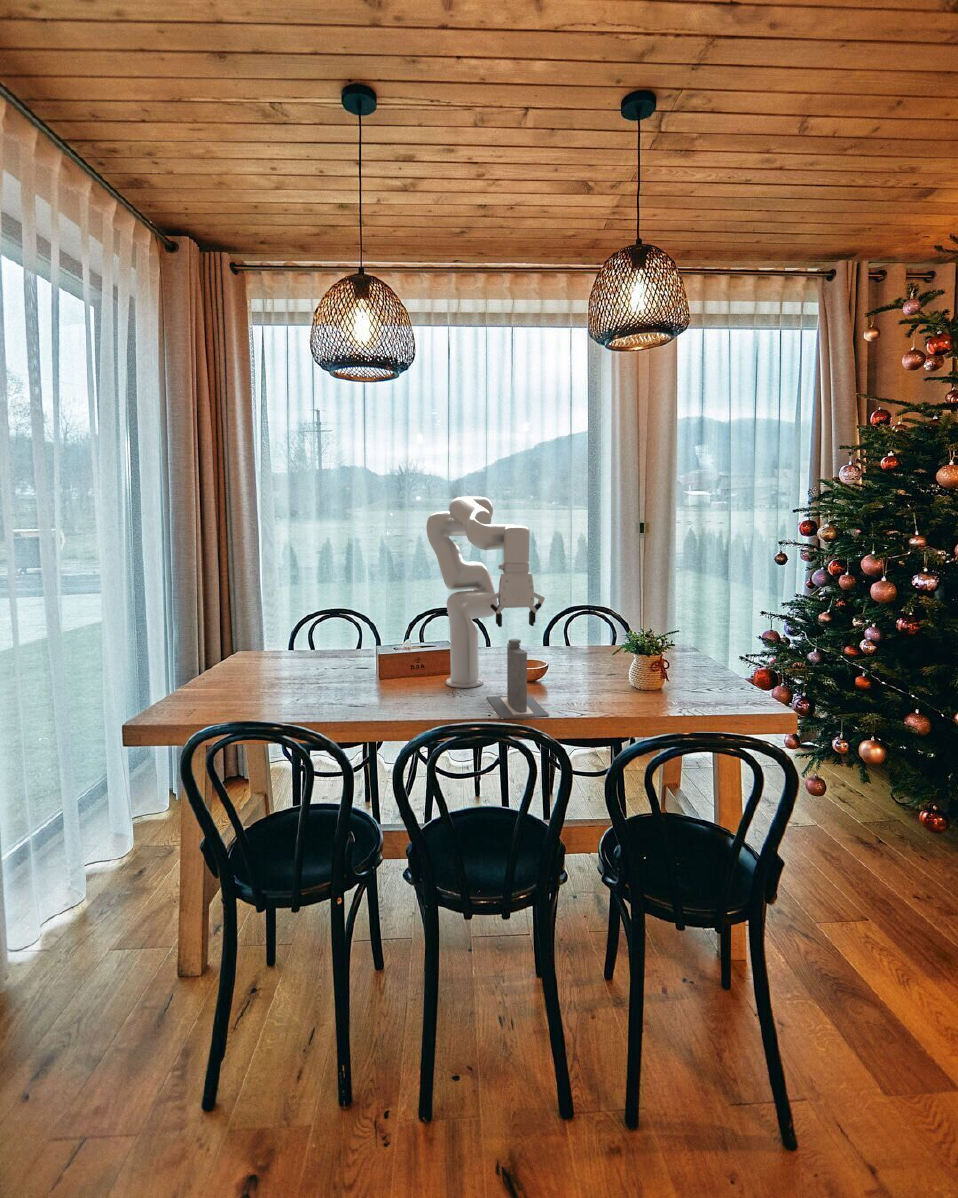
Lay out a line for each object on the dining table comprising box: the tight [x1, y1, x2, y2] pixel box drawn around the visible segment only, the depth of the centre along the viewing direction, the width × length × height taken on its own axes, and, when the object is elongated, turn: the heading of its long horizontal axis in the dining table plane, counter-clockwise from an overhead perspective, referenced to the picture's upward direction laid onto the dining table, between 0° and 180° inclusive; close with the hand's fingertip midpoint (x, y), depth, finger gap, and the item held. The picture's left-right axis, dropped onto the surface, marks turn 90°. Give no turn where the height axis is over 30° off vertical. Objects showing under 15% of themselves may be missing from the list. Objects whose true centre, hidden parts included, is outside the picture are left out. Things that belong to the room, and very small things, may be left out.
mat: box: [486, 694, 550, 720], centre depth 207 cm, size 22×14×1 cm, turn 10°
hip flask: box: [506, 638, 528, 713], centre depth 206 cm, size 16×4×20 cm, turn 9°
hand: (515, 625), depth 204 cm, fingers open, 9 cm apart
